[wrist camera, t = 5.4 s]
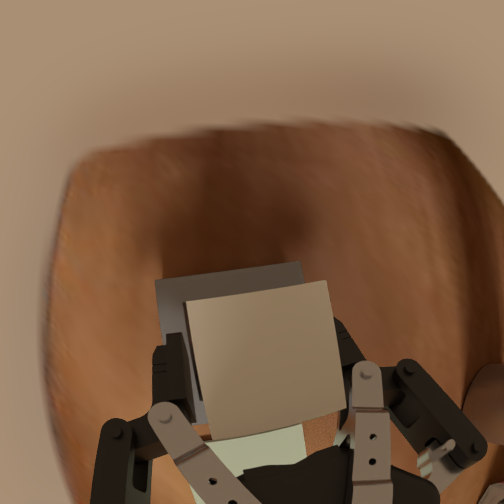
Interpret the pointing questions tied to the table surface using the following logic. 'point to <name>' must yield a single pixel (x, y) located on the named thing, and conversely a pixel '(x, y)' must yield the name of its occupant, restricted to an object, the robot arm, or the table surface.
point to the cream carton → (266, 358)
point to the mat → (259, 450)
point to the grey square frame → (211, 286)
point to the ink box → (493, 494)
